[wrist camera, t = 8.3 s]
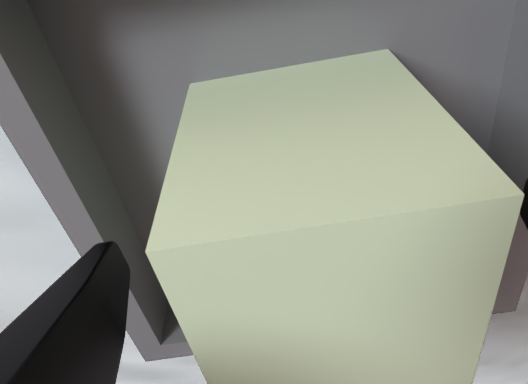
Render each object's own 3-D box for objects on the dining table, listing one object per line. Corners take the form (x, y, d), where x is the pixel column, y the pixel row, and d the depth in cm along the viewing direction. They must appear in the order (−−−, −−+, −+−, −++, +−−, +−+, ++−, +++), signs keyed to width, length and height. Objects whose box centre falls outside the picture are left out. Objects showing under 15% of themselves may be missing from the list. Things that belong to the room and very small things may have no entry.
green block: (384, 205, 13) (470, 390, 8) (230, 229, 13) (225, 421, 8) (387, 48, 10) (523, 194, 5) (189, 83, 10) (144, 252, 6)
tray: (479, 256, 15) (515, 310, 13) (157, 303, 16) (145, 361, 14) (575, -191, 8) (688, -218, 6) (-29, -66, 9) (-109, -53, 7)
